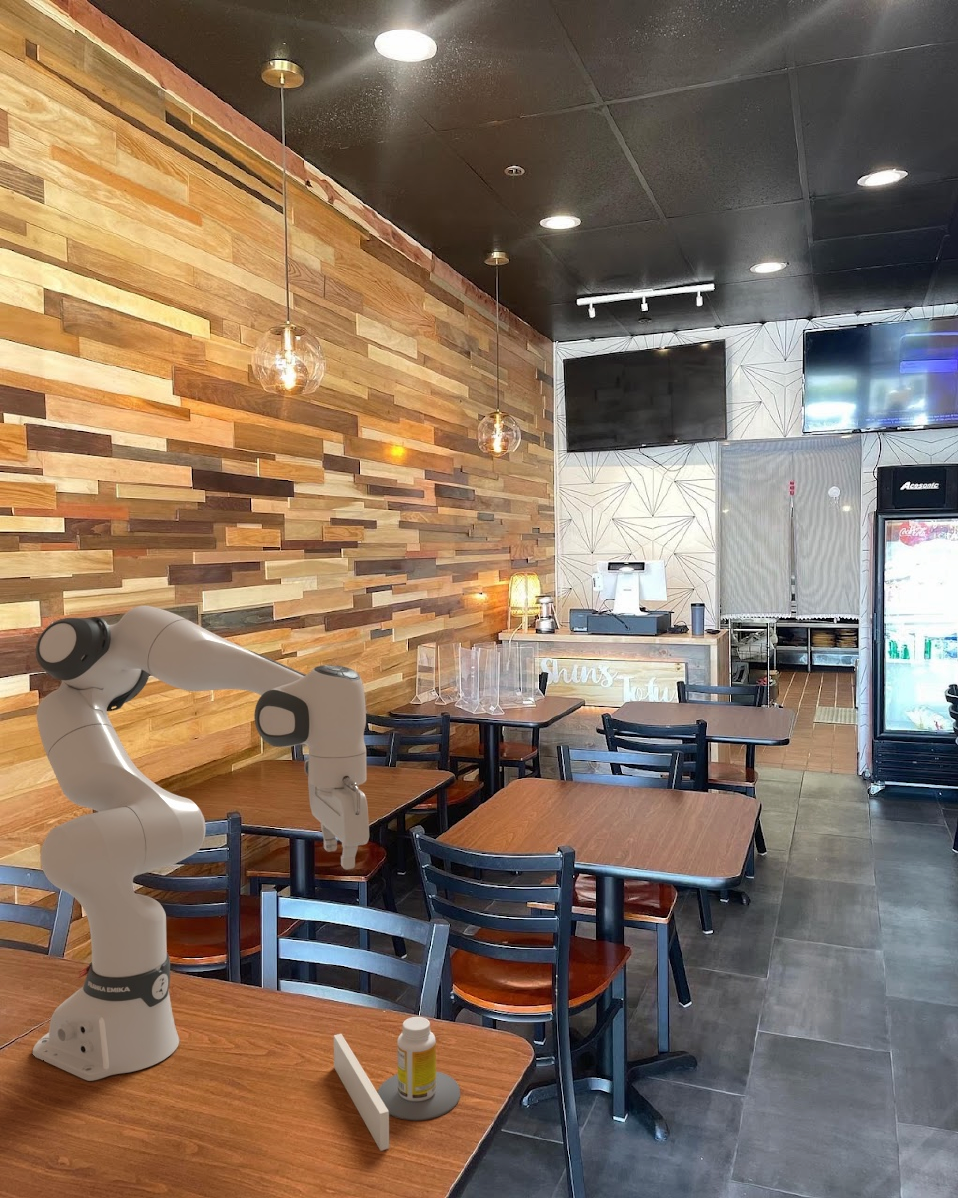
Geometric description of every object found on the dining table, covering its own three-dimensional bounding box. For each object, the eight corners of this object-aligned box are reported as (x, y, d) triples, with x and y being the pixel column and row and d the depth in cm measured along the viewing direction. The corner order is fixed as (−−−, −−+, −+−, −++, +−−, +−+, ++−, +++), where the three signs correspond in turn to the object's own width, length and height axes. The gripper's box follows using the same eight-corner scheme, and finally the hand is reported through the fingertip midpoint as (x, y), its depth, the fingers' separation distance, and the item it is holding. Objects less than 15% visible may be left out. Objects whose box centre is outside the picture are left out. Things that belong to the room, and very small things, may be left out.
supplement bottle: (442, 1086, 134) (442, 1018, 133) (425, 1107, 128) (425, 1036, 128) (408, 1078, 136) (408, 1010, 135) (390, 1098, 131) (390, 1028, 130)
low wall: (389, 1148, 120) (388, 1111, 120) (380, 1151, 120) (380, 1113, 119) (341, 1065, 140) (341, 1033, 140) (334, 1067, 140) (333, 1035, 139)
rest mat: (362, 1110, 129) (362, 1107, 129) (398, 1066, 140) (398, 1063, 140) (441, 1128, 124) (441, 1125, 124) (472, 1081, 136) (472, 1078, 136)
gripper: (379, 782, 133) (380, 876, 134) (338, 756, 152) (339, 838, 152) (337, 787, 131) (338, 882, 131) (301, 760, 149) (302, 843, 150)
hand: (338, 858), depth 142 cm, fingers open, 8 cm apart
